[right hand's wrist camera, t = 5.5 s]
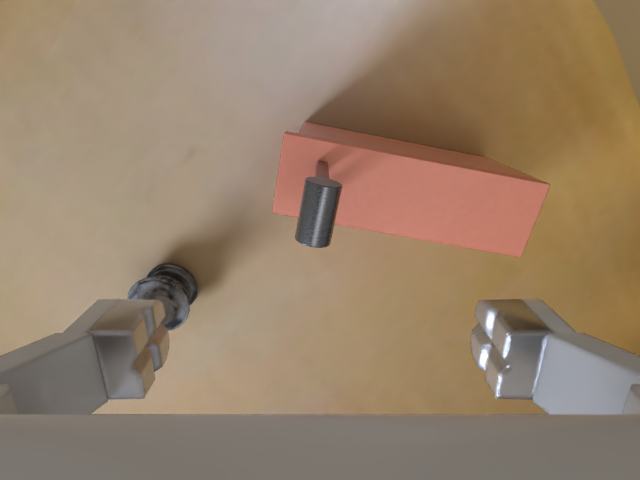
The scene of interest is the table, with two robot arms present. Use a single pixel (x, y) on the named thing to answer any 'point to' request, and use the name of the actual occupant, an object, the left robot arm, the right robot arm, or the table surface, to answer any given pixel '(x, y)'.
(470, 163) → the chest
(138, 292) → the salt shaker
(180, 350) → the table surface
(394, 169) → the lid
